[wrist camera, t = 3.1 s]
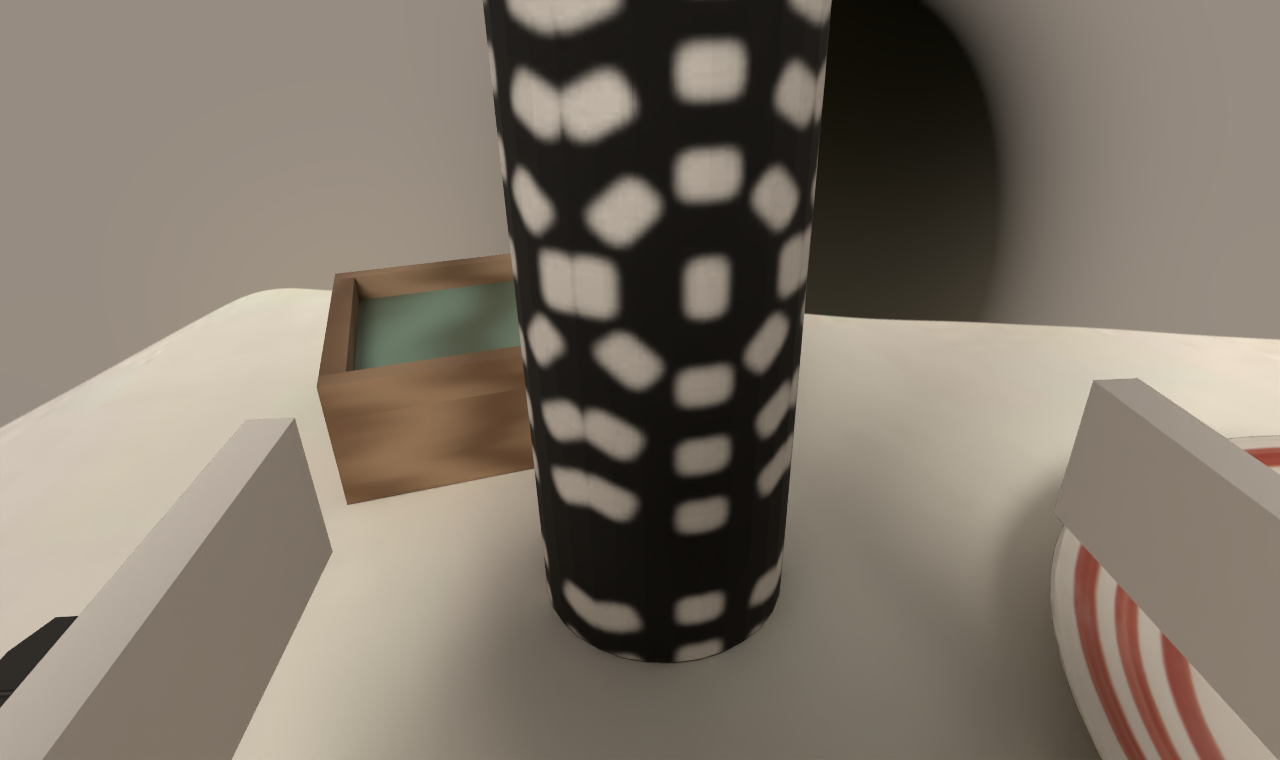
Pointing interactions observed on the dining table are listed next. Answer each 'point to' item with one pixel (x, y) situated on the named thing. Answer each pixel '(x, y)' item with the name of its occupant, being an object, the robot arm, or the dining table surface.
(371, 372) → the square wooden tray
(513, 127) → the white-spotted black cylinder
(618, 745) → the dining table surface
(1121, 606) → the dinner plate
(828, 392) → the dining table surface
